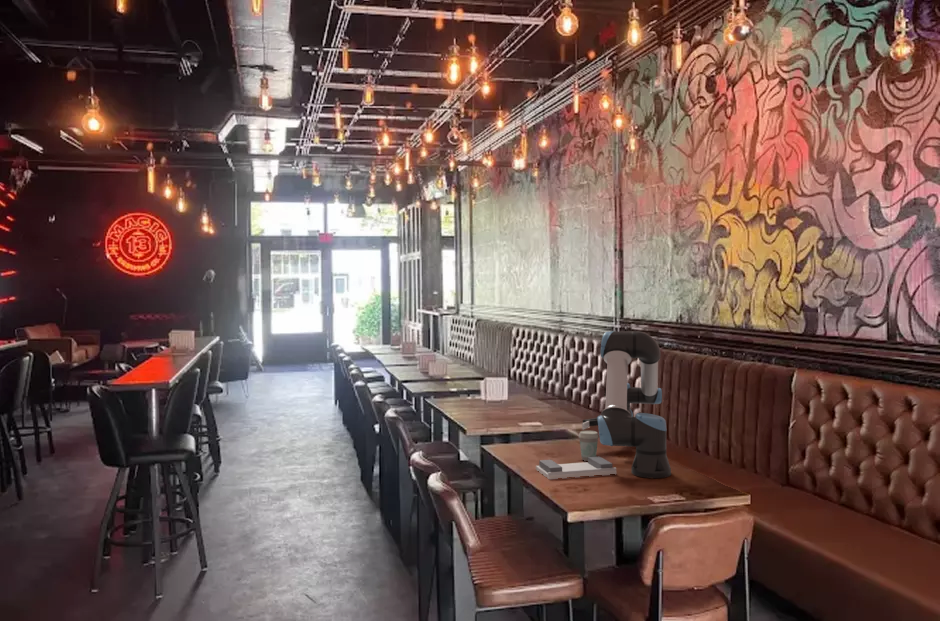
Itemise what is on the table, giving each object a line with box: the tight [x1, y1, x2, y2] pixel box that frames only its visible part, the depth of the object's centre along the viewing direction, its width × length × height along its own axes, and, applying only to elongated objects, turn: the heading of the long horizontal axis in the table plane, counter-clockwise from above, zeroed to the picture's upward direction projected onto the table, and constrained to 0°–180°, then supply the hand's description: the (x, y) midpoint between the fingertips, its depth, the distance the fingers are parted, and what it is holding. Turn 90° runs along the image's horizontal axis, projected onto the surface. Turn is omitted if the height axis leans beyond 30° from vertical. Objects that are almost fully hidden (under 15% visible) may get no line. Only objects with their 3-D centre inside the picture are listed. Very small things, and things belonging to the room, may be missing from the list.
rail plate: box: [535, 455, 617, 480], centre depth 293 cm, size 28×16×4 cm, turn 103°
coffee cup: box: [578, 430, 600, 462], centre depth 312 cm, size 8×8×12 cm
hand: (597, 428), depth 321 cm, fingers open, 13 cm apart
